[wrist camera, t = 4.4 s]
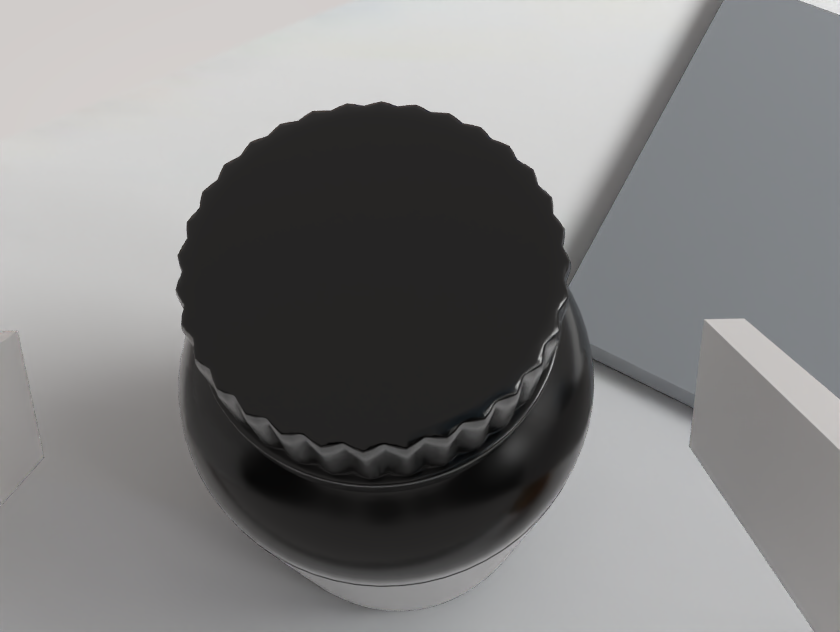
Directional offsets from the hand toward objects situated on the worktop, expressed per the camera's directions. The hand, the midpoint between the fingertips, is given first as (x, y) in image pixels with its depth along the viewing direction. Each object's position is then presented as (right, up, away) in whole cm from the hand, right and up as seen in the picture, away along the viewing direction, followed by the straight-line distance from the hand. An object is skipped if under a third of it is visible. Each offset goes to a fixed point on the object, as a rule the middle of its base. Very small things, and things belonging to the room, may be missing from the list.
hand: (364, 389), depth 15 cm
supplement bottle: (+1, -3, +5) cm, 6 cm away
